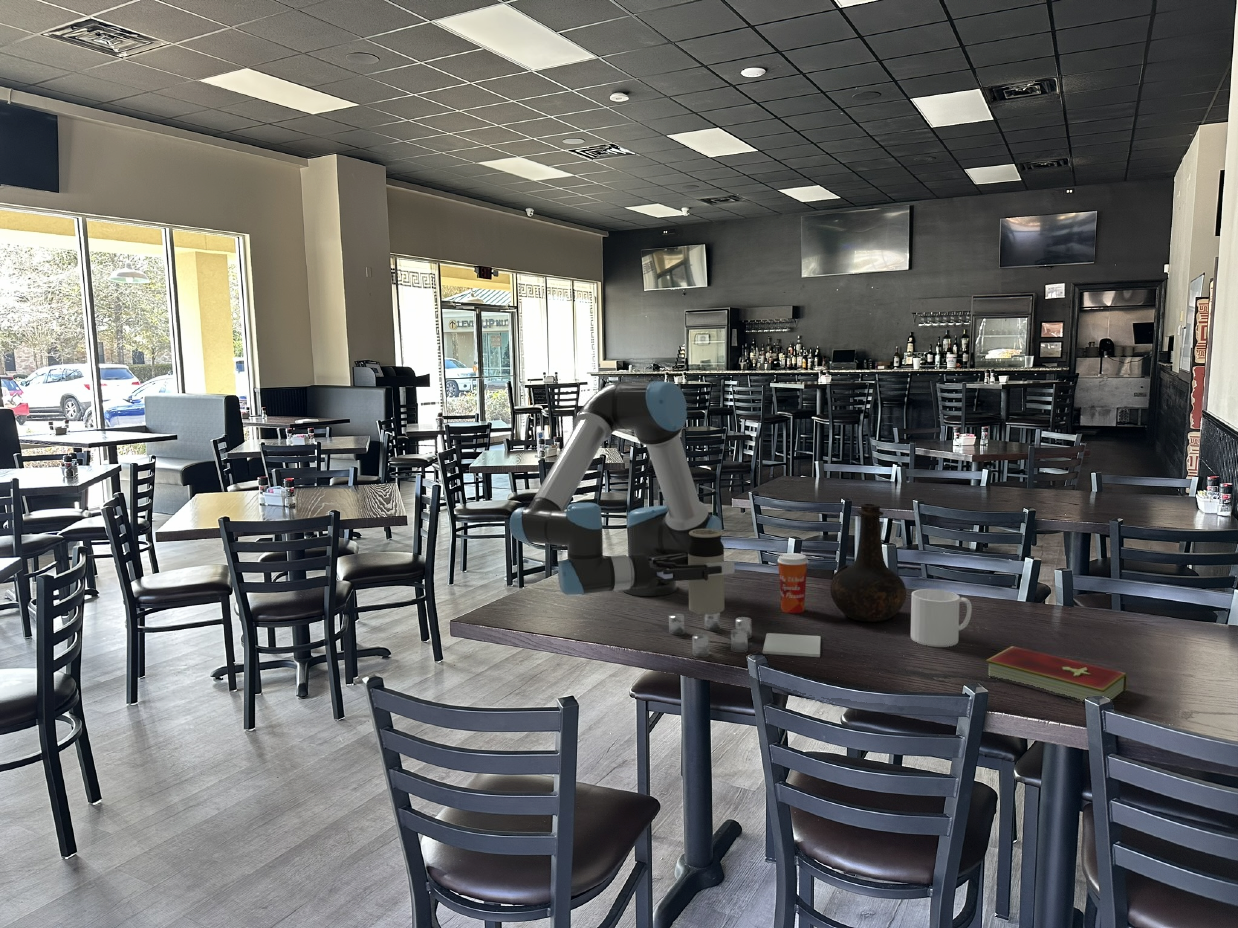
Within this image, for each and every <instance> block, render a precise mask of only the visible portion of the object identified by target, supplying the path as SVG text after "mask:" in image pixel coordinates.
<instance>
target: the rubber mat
mask: <svg viewBox="0 0 1238 928" xmlns="http://www.w3.org/2000/svg"><path fill="white" fill-rule="evenodd" d="M762 654H766V655H768V654H769V655H782V656H783V655H784V656H794V657H795V656H797V657H811V658H813V657H814V658H820V657H821V635H808V634H807V635H804V634H788V633H774V632H773V633H772V632H771V633H770V632H769V633H768V632H767V633H766V635H765V639H764V644H763V649H762Z"/></svg>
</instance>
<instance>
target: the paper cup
mask: <svg viewBox="0 0 1238 928" xmlns="http://www.w3.org/2000/svg"><path fill="white" fill-rule="evenodd" d="M777 563H778V576H779V591H780V593H779V594H780V607H781V611H782V612H784V613H785V614H786V613H787V614H801V613H803V612H804V610H805V603H806V589H807V588H806V585H807V570H808V569H807V568H808V564H809V563H810V561H809V560H808V557H807V555H805V554H802V553H798V552H797V553H795V552H794V553H793V552H791V553H790V552H788V553H782V554H780V555H779V556H778V559H777Z"/></svg>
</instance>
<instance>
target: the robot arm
mask: <svg viewBox="0 0 1238 928" xmlns="http://www.w3.org/2000/svg"><path fill="white" fill-rule="evenodd" d="M687 405H688V404H687V401H686V398H685V395H684V392H683V391H682V389H681V388H680V387H679V386H678V385H676V383H674V382H670V381H661V380H654V381H616V382H613V383H610V384H608V385H606V386H604V387H603V388H601V389H599V390H598V391H597V392H596V393H594V394H593V395H592V396H591V397H590V398H589V399H587V401H586V402H585V404H584V405H583V406H582V407H581V408H580V410H579V411H578V413H577V416H575V419H574V425H575V427H574V429H572V430H573V431H572V432H571V433H570V436H569V438H568V439H567V440H566V442H565V444H564V446H563V448H562V449H561V451H560V452H559V454H558V456H557V458H556V459H555V461H554V463H553V465H552V466H551V468H550V470H549V472H548V473H547V475H546V477H545V478H544V480H543V482H542V483H541V485H540V487H539V488H538V491H537V492H536V494H535V495H534V497H533V499H532V501H531V502H530V504H529V506H528V507H527V506H524V507H518V508H517V509H515V510H514V511H513V512H512V514H511V516H510V518H509V523H508V524H509V531H510V533H511V535H512V537H513V538H514V539H516V540H517V541H520V542H524V543H525V542H526V543H529V544H534V543H536V544H545V545H553V546H561V547H567V559H565V560H561V561H560V562H559V563H558V566H557V568H558V570H557V579H558V584H559V585H558V586H559V588H560V592H562V593H563V594H564V595H567V596H569V595H570V596H571V595H572V596H573V595H583V596H584V595H588V594H595V593H596V594H597V593H604V592H615V593H620V591H622V592H625V593H626V594H628V595H632V596H639V597H640V596H641V597H654V596H655V597H656V596H657V597H658V596H665V595H668V594H669V595H670V594H671V593H674V592H675V591H676V590H677V582H682V581H689V580H708V576H714V575H724V576H725V575H731V574H732V575H733V574H735V561H734V560H729V561H725V560H724V562H715V563H706V565H688V545H689V544H690V542H691V537H690V535H689V532H690V531H692V530H696V529H716V530H720V531H722V521H721V518H719V517H718V516H716V515H713V514H712V515H711V514H710V512H709V508H708V507H707V505H706V504H705V503H703V502H702V501H700V499H699V496H698V492H697V490H696V486H695V483H694V479H693V476H692V473H691V470H690V467H689V463H688V460H687V457H686V453H685V449H684V446H683V443H682V440H681V437H680V435H681V433H682V430H683V429H684V427H683V426H685V424H686V421H687V416H688V412H687V409H688V407H687ZM618 430H632V431H634V432H635V435H636V438H637V440H638V442H639V443H640V444H642V445H645V446H646V448H647V449H646V450H647V452H648V455H649V458H650V461H651V464H652V466H653V470H654V472H655V476H656V479H657V482H658V485H659V489H660V490H661V493H662V496H663V499H664V501H665V505H655V506H645V507H640V508H636V509H634V510H630V512H628V514H627V520H626V521H627V523H626V528H627V530H626V531H627V532H626V534H627V535H626V536H627V555H626V554H621V555H609V556H604V555H603V553H604V550H603V544H604V543H603V541H604V540H603V527H604V526H603V525H604V524H603V518H602V508H601V506H600V505H599V504H597V503H594V502H574V503H570V501H571V500H572V498H573V496H574V494H575V492H576V491H577V489H578V487H579V485H580V484H581V481H582V480H583V478H584V476H585V475H586V473H587V471H588V469H589V467H590V466H591V464H592V462H593V460H594V459H595V456H596V455H597V454H598V451H599V450H600V448H601V446H602V444H603V442H605V441H608V440H609V439H610V438H611V436H612V434H613V433H614V432H615V431H618ZM569 503H570V504H569Z"/></svg>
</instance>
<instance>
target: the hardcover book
mask: <svg viewBox="0 0 1238 928" xmlns="http://www.w3.org/2000/svg"><path fill="white" fill-rule="evenodd" d="M985 662H986V663H988V675H989V676H995V677H998V678H1003V679H1009V680H1012V681H1016V682H1021V683H1024V684H1029V685H1033V686H1035V687H1040V688H1044V689H1046V690H1049V691H1053V692H1055V693H1060V694H1065V695H1067V696H1071V697H1075V698H1077V699H1080V700H1081V701H1083V700H1084V699H1086V698H1087V697H1092V696H1104V697H1109V699H1112V700H1113V699H1115V698H1116V697H1117V696H1118V695H1120V694H1121V693H1122V692H1127V687H1128V686H1127V685H1128V684H1127V683H1128V674H1127V673H1126V672H1124V671H1123V672H1122V671H1118V670H1115V669H1114V670H1113V669H1112V668H1111V669H1109V668H1106V667H1101V666H1098V665H1093V664H1090V663H1084V662H1080V661H1077V660H1072V659H1068V658H1065V657H1064V658H1063V657H1060V656H1055V655H1051V654H1047V653H1043V652H1040V651H1039V652H1038V651H1034V650H1029V649H1025V648H1022V647H1018V646H1017V647H1016V646H1009V647H1008V648H1006V649H1004V650H1002V651H1001V652H998V653H997V654H995V655H993V656H991V657H990V658H988V659H985Z"/></svg>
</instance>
